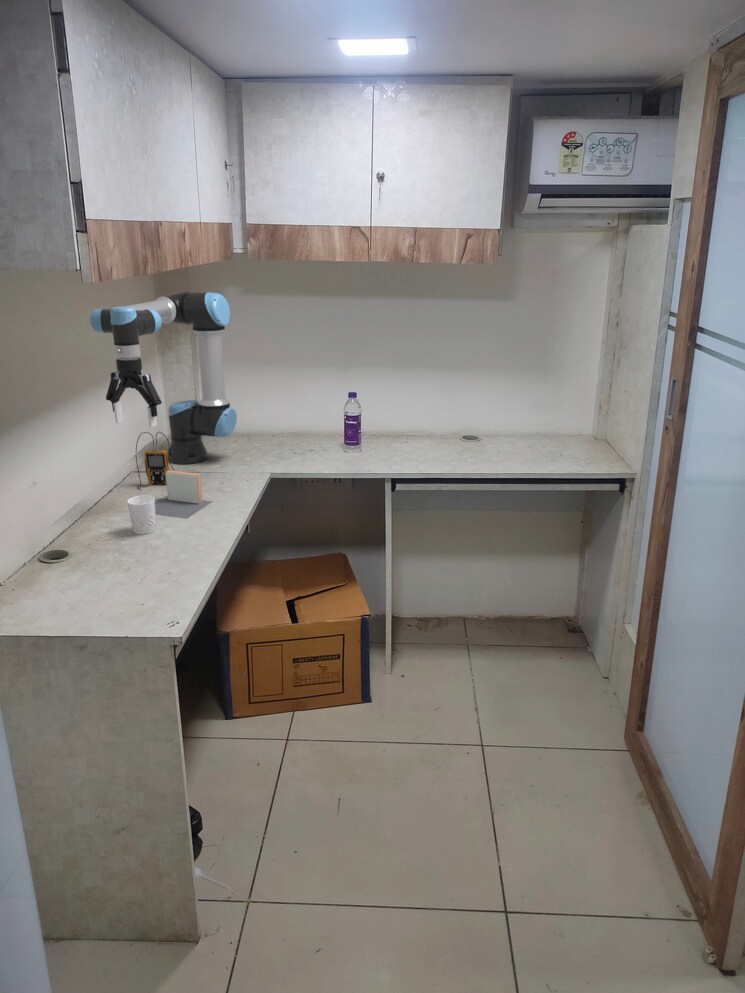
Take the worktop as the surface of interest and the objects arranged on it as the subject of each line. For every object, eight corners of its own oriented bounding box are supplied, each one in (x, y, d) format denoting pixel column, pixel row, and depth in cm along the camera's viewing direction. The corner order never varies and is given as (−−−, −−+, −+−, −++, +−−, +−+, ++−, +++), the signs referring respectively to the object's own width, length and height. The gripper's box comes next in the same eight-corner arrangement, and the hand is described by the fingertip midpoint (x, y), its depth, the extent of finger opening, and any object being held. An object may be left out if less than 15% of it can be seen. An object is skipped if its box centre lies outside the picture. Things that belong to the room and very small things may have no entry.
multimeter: (131, 494, 249) (124, 438, 242) (141, 484, 258) (134, 430, 251) (173, 494, 248) (167, 438, 241) (181, 484, 258) (176, 431, 251)
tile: (171, 498, 243) (168, 470, 240) (202, 502, 240) (200, 473, 236) (167, 500, 241) (164, 472, 238) (198, 504, 238) (196, 475, 234)
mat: (166, 497, 246) (166, 495, 245) (212, 503, 240) (212, 501, 240) (138, 513, 231) (138, 512, 231) (187, 520, 226) (186, 518, 226)
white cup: (127, 529, 219) (123, 499, 216) (151, 523, 224) (147, 493, 220) (137, 537, 213) (133, 506, 210) (162, 531, 218) (158, 500, 215)
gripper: (88, 357, 224) (97, 423, 231) (152, 362, 215) (160, 431, 222) (105, 353, 231) (114, 417, 238) (168, 358, 221) (175, 425, 229)
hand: (136, 424), depth 230 cm, fingers open, 13 cm apart
